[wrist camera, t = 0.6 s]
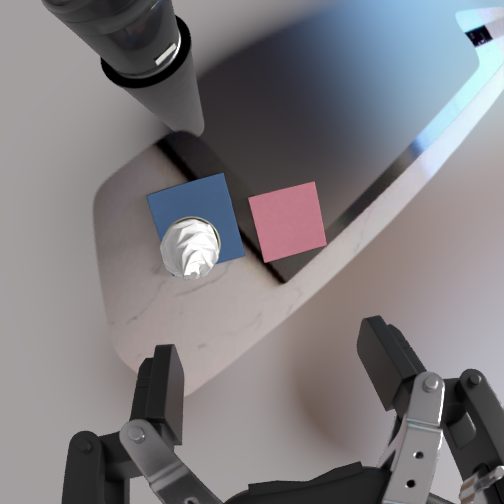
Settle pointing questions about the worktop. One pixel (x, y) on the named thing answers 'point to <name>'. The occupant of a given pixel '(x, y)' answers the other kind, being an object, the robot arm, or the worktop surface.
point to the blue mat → (200, 211)
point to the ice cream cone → (190, 247)
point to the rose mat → (288, 221)
